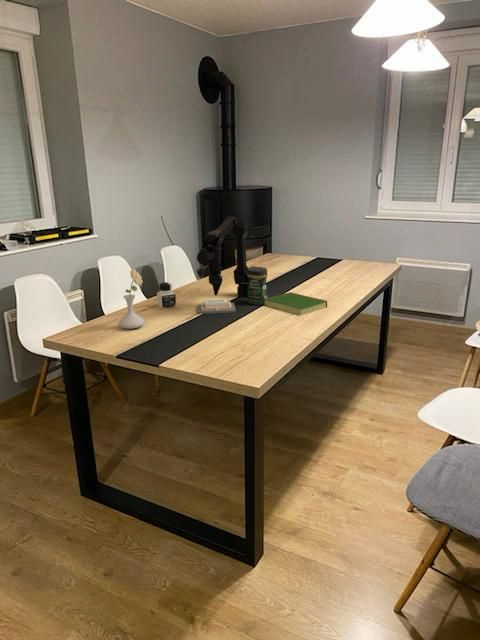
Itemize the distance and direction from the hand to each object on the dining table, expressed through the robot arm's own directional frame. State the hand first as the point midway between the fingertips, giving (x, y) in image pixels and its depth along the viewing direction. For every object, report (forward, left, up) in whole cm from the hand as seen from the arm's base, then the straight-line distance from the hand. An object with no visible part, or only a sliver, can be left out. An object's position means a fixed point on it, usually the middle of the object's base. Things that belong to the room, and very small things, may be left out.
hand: (215, 292), depth 231 cm
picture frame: (0, 0, -7) cm, 7 cm away
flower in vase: (+37, +20, -8) cm, 43 cm away
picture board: (0, 0, -8) cm, 8 cm away
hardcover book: (-38, 0, -9) cm, 39 cm away
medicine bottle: (+24, -9, -8) cm, 27 cm away
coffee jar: (-21, -8, -8) cm, 24 cm away
